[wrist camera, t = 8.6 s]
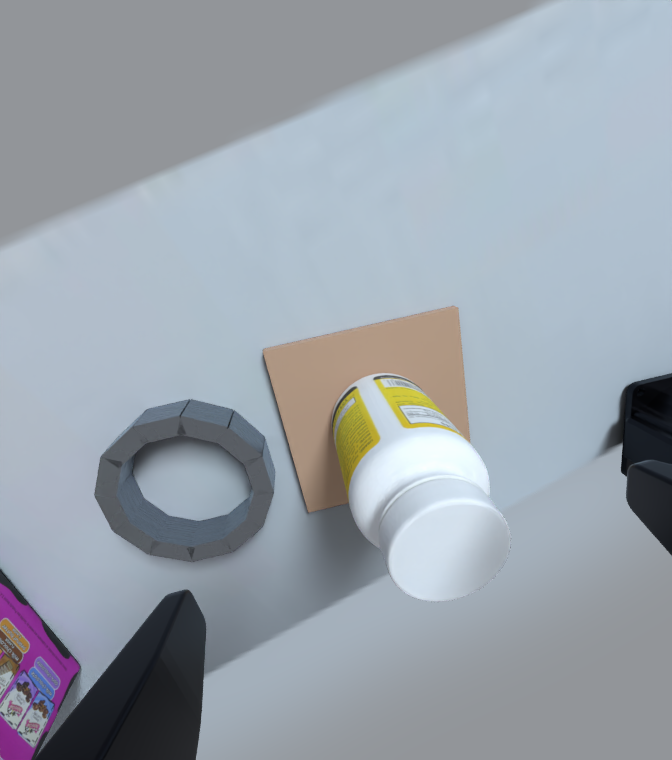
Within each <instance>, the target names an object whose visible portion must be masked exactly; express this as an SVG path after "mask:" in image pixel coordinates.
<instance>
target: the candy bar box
mask: <svg viewBox="0 0 672 760" xmlns="http://www.w3.org/2000/svg"><path fill="white" fill-rule="evenodd" d="M79 669H80V666H79V664H78V662H77V661H76V660H75V659H74V658H73V656H72V655H71V654H70V653H69V651H68V650H67V649H66V648H65V647H64V645H63V644H62V643H61V642H60V641H59V639H58V638H57V637H56V636H55V635H54V634H53V633H52V631H51V630H50V629H49V628H48V627H47V625H46V624H45V623H44V622H43V621H42V620H41V618H40V617H39V616H38V615H37V614H36V612H35V611H34V610H33V609H32V608H31V607H30V605H29V604H28V603H27V602H26V601H25V599H24V598H23V597H22V596H21V595H20V594H19V592H18V591H17V590H16V589H15V588H14V587H13V586H12V585H11V583H10V582H9V581H8V580H7V579H6V577H5V576H4V575H3V574H2V573H1V571H0V760H34V759H35V758H36V756H37V754H38V752H39V750H40V748H41V746H42V744H43V742H44V740H45V738H46V736H47V734H48V732H49V730H50V728H51V726H52V724H53V722H54V720H55V718H56V715H57V713H58V711H59V710H60V707H61V705H62V703H63V701H64V699H65V697H66V695H67V693H68V691H69V689H70V687H71V685H72V683H73V681H74V679H75V677H76V675H77V673H78V671H79Z"/></svg>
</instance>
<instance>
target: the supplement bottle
mask: <svg viewBox="0 0 672 760" xmlns="http://www.w3.org/2000/svg"><path fill="white" fill-rule="evenodd" d="M331 424H332V434H333V438H334V442H335V446H336V450H337V454H338V458H339V463H340V467H341V471H342V475H343V480H344V484H345V488H346V492H347V497H348V501H349V506H350V509H351V512H352V515H353V518H354V520H355V523H356V525H357V526H358V528H359V529H360V531H361V532H362V534H363V535H364V536H365V537H366V538H367V539H368V540H369V541H370V542H371V543H372V544H373V545H375V546H376V547H378V548H380V549H381V552H382V554H383V557H384V560H385V563H386V566H387V569H388V572H389V574H390V576H391V578H392V580H393V581H394V583H395V584H396V585H397V587H398V588H399V589H400V590H402V591H403V592H404V593H406V594H407V595H409V596H411V597H414V598H416V599H420V600H424V601H431V602H441V601H450V600H455V599H458V598H461V597H464V596H467V595H469V594H472V593H474V592H476V591H477V590H479V589H481V588H482V587H483V586H485V585H486V584H488V583H489V582H490V581H491V580H492V579H493V578H494V577H495V576H496V575H497V574H498V573H499V571H500V570H501V569H502V567H503V566H504V564H505V562H506V560H507V558H508V555H509V552H510V548H511V533H510V529H509V526H508V524H507V522H506V520H505V518H504V516H503V515H502V514H501V512H500V511H499V510H498V508H497V507H496V506H495V504H494V503H493V501H492V500H491V499H490V497H489V494H490V482H489V476H488V472H487V469H486V467H485V464H484V462H483V461H482V459H481V457H480V455H479V454H478V452H477V451H476V450H475V449H474V447H473V446H472V445H471V444H470V443H469V442H468V440H467V439H466V438H465V437H464V436H463V435H462V434H461V433H460V432H459V431H458V429H457V428H456V427H455V426H454V425H453V424H452V423H451V422H450V421H449V419H448V418H447V417H446V416H445V415H444V414H443V413H442V412H441V410H440V409H439V408H438V407H437V406H436V405H435V404H434V403H433V402H432V400H431V399H430V398H429V397H428V396H427V395H426V394H425V393H424V392H423V390H422V389H421V388H420V387H419V386H417V385H416V384H415V383H414V382H412V381H411V380H409V379H407V378H405V377H403V376H400V375H396V374H391V373H378V374H373V375H369V376H366V377H363V378H361V379H359V380H357V381H356V382H354V383H353V384H351V385H350V386H349V387H348V388H347V389H346V390H345V391H344V392H343V393H342V394H341V396H340V397H339V399H338V400H337V402H336V404H335V407H334V410H333V414H332V422H331Z"/></svg>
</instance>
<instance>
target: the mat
mask: <svg viewBox="0 0 672 760" xmlns="http://www.w3.org/2000/svg"><path fill="white" fill-rule="evenodd" d="M263 354H264V358H265V361H266V365H267V368H268V372H269V376H270V379H271V383H272V386H273V390H274V393H275V397H276V400H277V404H278V407H279V411H280V414H281V418H282V421H283V425H284V428H285V432H286V436H287V439H288V443H289V446H290V450H291V453H292V457H293V460H294V464H295V467H296V471H297V474H298V478H299V481H300V485H301V489H302V492H303V496H304V499H305V503H306V506H307V510H308V513H310V512H314V511H318V510H322V509H326V508H330V507H335V506H339V505H343V504H347V503H349V501H348V497H347V492H346V488H345V484H344V480H343V475H342V471H341V467H340V463H339V458H338V454H337V450H336V446H335V442H334V438H333V434H332V424H331V422H332V414H333V410H334V407H335V404H336V402H337V400H338V399H339V397H340V396H341V394H342V393H343V392H344V391H345V390H346V389H347V388H348V387H349V386H350V385H351V384H353V383H354V382H356V381H357V380H359V379H361V378H363V377H366V376H369V375H373V374H378V373H391V374H396V375H400V376H403V377H405V378H407V379H409V380H411V381H412V382H414V383H415V384H416V385H417V386H419V387H420V388H421V389H422V390H423V392H424V393H425V394H426V395H427V396H428V397H429V398H430V399H431V400H432V402H433V403H434V404H435V405H436V406H437V407H438V408H439V409H440V410H441V412H442V413H443V414H444V415H445V416H446V417H447V418H448V419H449V421H450V422H451V423H452V424H453V425H454V426H455V427H456V428H457V429H458V431H459V432H460V433H461V434H462V435H463V436H464V437H465V438H466V439H467V440H468V442H469V443H470V434H469V423H468V411H467V400H466V389H465V378H464V367H463V355H462V344H461V333H460V322H459V310H458V307H455V306H451V307H446V308H442V309H438V310H433V311H429V312H424V313H420V314H415V315H411V316H407V317H402V318H398V319H393V320H389V321H385V322H380V323H376V324H371V325H367V326H363V327H358V328H354V329H349V330H345V331H340V332H336V333H332V334H327V335H323V336H318V337H314V338H310V339H305V340H301V341H296V342H292V343H287V344H283V345H279V346H274V347H270V348H265V349H264V350H263Z"/></svg>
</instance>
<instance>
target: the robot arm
mask: <svg viewBox="0 0 672 760" xmlns="http://www.w3.org/2000/svg"><path fill="white" fill-rule="evenodd" d="M637 391H638V392H637ZM621 472H622V473H623V474H624V475H625V476H627V490H626V498H627V502H628V504H629V506H630V508H631V509H632V511H633V512H634V513H635V514H636V515H637V516H638V517H639V519H640V520H641V521H642V522H643V523H644V524H645V526H646V527H647V528H648V529H649V530H650V531H651V532H652V534H653V535H654V536H655V537H656V538H657V539H658V540H659V541H660V543H661V544H662V545H663V546H664V547H665V548H666V550H667V551H668V552H669V553H670V554H671V555H672V373H671V374H667V375H663V376H658V377H654V378H650V379H646V380H641V381H637V382H634V383H632V384H631V385H630V386H629V387H628V389H627V395H626V409H625V422H624V436H623V449H622V464H621ZM205 642H206V623H205V619H204V616H203V614H202V612H201V610H200V608H199V606H198V604H197V602H196V600H195V598H194V596H193V594H192V593H191V592H190V591H189V590H182V591H178V592H174V593H171V594H168V595H167V596H165V597H164V598H163V599H162V601H161V602H160V603H159V604H158V606H157V607H156V608H155V609H154V611H153V612H152V613H151V614H150V616H149V617H148V618H147V619H146V621H145V622H144V623H143V624H142V626H141V627H140V628H139V629H138V631H137V632H136V633H135V634H134V636H133V637H132V638H131V639H130V641H129V642H128V643H127V644H126V646H125V647H124V648H123V649H122V651H121V652H120V653H119V654H118V656H117V657H116V658H115V659H114V661H113V662H112V663H111V664H110V666H109V667H108V668H107V669H106V671H105V672H104V673H103V674H102V675H101V677H100V678H99V679H98V680H97V682H96V683H95V684H94V685H93V687H92V688H91V689H90V690H89V692H88V693H87V694H86V695H85V697H84V698H83V699H82V700H81V702H80V703H79V704H78V705H77V707H76V708H75V709H74V710H73V712H72V713H71V714H70V715H69V717H68V718H67V719H66V720H65V722H64V723H63V724H62V725H61V727H60V728H59V729H58V730H57V732H56V733H55V734H54V735H53V737H52V738H51V739H50V740H49V742H48V743H47V744H46V745H45V747H44V748H43V749H42V750H41V752H40V753H39V754H38V755H37V756H36V758H35V759H34V760H196V754H197V747H198V740H199V732H200V724H201V712H202V696H203V678H204V660H205Z"/></svg>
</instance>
